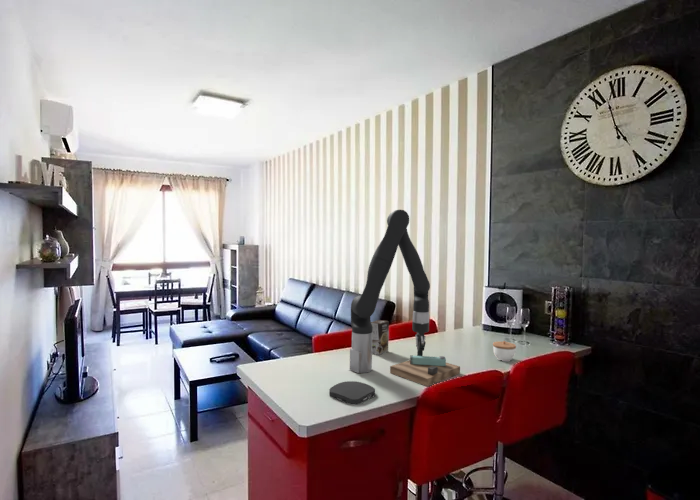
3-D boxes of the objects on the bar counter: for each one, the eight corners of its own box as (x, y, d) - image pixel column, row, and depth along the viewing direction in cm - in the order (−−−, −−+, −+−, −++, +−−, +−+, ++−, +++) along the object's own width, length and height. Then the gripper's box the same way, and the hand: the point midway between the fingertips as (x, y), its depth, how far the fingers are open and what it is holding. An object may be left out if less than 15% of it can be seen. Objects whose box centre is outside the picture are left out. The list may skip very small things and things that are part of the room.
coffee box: (379, 355, 197) (380, 323, 196) (368, 352, 201) (369, 322, 200) (388, 351, 204) (389, 320, 203) (378, 349, 208) (379, 319, 207)
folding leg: (445, 364, 175) (445, 356, 174) (445, 366, 172) (445, 358, 172) (410, 361, 177) (410, 354, 177) (410, 363, 174) (410, 355, 174)
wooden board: (427, 386, 156) (427, 372, 156) (390, 372, 171) (390, 360, 171) (459, 373, 172) (460, 361, 172) (423, 362, 187) (423, 350, 187)
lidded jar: (517, 363, 187) (518, 344, 187) (494, 362, 189) (494, 343, 189) (513, 357, 198) (513, 339, 197) (490, 355, 200) (491, 337, 199)
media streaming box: (349, 385, 157) (349, 377, 157) (379, 395, 147) (379, 387, 147) (324, 396, 145) (325, 388, 145) (355, 407, 136) (355, 399, 136)
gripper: (410, 317, 184) (409, 353, 185) (414, 324, 171) (413, 362, 171) (426, 318, 184) (425, 354, 184) (431, 324, 171) (430, 363, 171)
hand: (419, 358), depth 178 cm, fingers closed
